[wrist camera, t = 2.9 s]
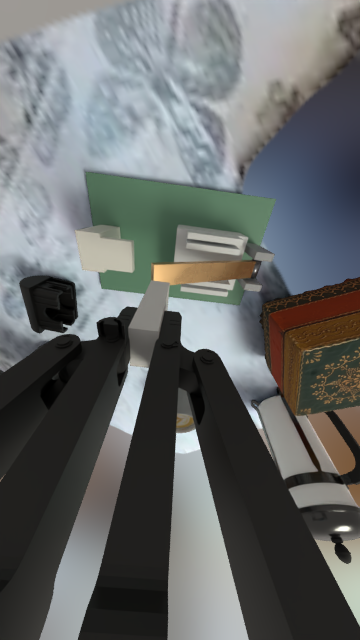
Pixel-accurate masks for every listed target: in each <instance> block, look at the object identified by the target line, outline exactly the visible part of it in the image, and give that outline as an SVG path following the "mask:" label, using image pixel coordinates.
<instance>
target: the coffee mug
mask: <svg viewBox="0 0 360 640" xmlns="http://www.w3.org/2000/svg"><path fill="white" fill-rule="evenodd" d="M194 429H195V424H194V420H193V416H192V412H191V408H190V404H189V401H188V397H187V391H185V390H182V389H180V388H178V406H177V424H176V433H186V432H190V431H192V430H194Z"/></svg>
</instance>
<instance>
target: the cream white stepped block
mask: <svg viewBox="0 0 360 640" xmlns="http://www.w3.org/2000/svg"><path fill="white" fill-rule="evenodd" d="M75 234H76V239H77V244H78V249H79V255H80V260H81V265H82V270H87V271H95V272H103V273H104V272H106V271H107V270H114V271H122V272H130V273H133V271H134V270H135V265H134V240H126V239H121V237H120V227H116V226H108V225H97V226H92V227H88V228H83V229H79V230H75Z"/></svg>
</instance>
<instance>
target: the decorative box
mask: <svg viewBox="0 0 360 640" xmlns="http://www.w3.org/2000/svg"><path fill="white" fill-rule="evenodd" d="M260 317H261V320H260V323H261V324H262V328H263V329H264V338H265V339H264V340H265V352H266V354H265V359H266V363H267V366H268V368H269V370H270V372H271V374H272V376H273V377H274V379H275V381H276V383H277V385H278V386H279V388H280V390H281V392H282V394H283V395H284V397H285V399H286V401H287V403H288V405H289V407H290V409H291V410H292V412H293V414H294V415H295V416H304V415H309V414H316V413H321V412H327V411H332V410H337V409H344V408H348V407H355V406H360V277H358V278H355V279H346V280H345V281H344V282H343V283H340V284H335V285H332V286H324V287H323V288H320V289H317V290H312V291H306V292H304V293H302V294H298V295H292V296H288V297H285V298H277V299H275V300H273V301H268V302H266V303H265V304H263V305H262V313H261V314H260Z"/></svg>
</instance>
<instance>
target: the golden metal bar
mask: <svg viewBox="0 0 360 640" xmlns="http://www.w3.org/2000/svg"><path fill="white" fill-rule="evenodd" d="M261 262H262V261H260V260H254V259H252V260H232V261H195V262H157V263H151V280H152V281H160V282H168V283H170V285H177V284H188V283H199V282H210V281H221V280H232V279H243V278H251V279H256V276H257V273H258V271H259V268H260V265H261Z"/></svg>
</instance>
